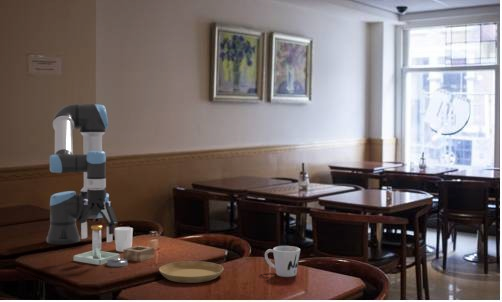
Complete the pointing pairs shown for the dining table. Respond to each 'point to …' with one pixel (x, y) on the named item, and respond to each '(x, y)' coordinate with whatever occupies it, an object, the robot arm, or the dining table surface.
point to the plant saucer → (191, 271)
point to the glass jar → (96, 241)
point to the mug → (284, 260)
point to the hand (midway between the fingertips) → (96, 240)
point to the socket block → (138, 253)
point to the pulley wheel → (117, 262)
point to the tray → (88, 259)
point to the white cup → (123, 238)
